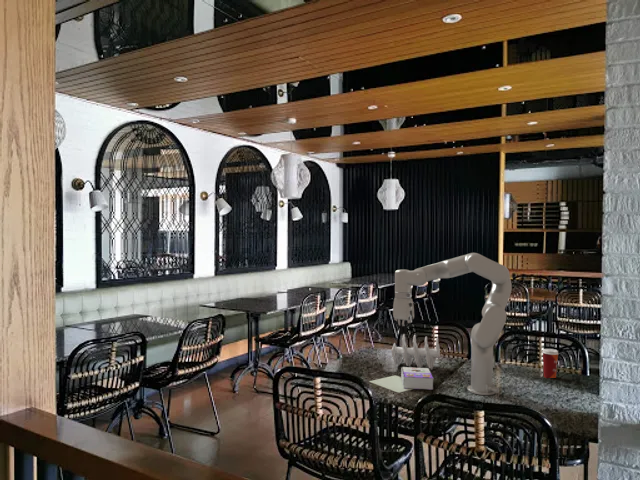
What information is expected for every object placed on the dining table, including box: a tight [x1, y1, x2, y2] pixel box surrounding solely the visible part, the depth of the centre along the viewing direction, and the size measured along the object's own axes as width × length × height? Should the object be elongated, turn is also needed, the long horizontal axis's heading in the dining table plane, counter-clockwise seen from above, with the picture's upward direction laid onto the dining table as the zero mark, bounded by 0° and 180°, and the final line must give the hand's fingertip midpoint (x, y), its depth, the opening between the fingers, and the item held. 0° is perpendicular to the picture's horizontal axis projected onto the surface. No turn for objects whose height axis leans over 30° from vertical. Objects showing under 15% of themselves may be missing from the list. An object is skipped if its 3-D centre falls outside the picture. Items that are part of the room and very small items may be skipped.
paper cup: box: [541, 348, 559, 379], centre depth 251 cm, size 8×8×14 cm
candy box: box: [400, 366, 434, 391], centre depth 237 cm, size 14×6×16 cm
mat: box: [368, 375, 413, 394], centre depth 237 cm, size 20×18×1 cm
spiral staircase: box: [391, 334, 441, 371], centre depth 267 cm, size 18×18×25 cm
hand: (403, 333), depth 234 cm, fingers closed
